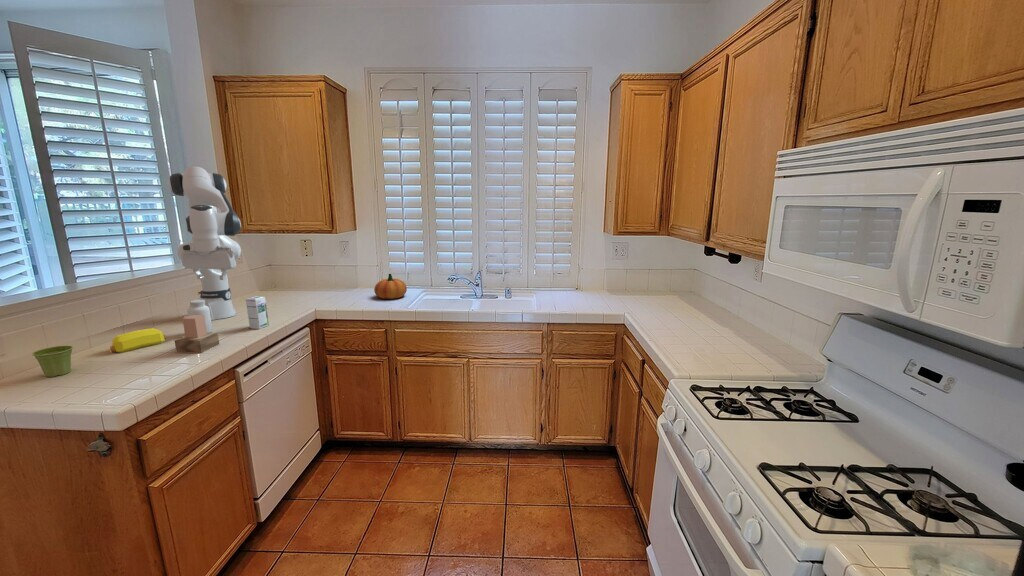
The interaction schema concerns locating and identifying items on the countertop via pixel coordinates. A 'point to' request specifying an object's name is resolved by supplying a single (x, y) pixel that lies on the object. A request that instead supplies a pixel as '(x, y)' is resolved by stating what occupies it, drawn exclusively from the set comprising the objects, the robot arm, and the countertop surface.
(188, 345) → the pedestal
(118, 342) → the yellow long rounded bar
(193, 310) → the pill bottle
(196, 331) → the terracotta block
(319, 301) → the countertop surface
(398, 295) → the pumpkin
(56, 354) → the plant pot
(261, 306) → the syrup box
